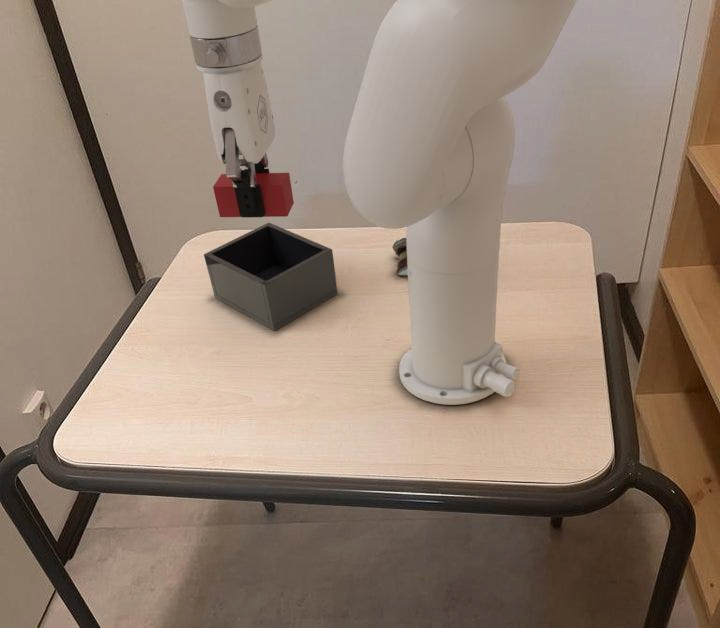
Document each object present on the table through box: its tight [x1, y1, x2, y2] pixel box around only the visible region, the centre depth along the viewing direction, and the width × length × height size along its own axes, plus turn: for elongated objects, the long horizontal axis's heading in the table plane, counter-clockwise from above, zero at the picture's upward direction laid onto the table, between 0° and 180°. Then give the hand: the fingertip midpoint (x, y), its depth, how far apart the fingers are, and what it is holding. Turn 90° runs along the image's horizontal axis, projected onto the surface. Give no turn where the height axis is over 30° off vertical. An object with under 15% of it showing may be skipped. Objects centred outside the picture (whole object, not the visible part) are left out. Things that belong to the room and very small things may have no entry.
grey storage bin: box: [203, 222, 339, 332], centre depth 99 cm, size 14×12×7 cm
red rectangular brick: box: [212, 172, 295, 218], centre depth 92 cm, size 9×4×4 cm, turn 81°
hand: (257, 206), depth 93 cm, fingers closed on red rectangular brick, 3 cm apart
